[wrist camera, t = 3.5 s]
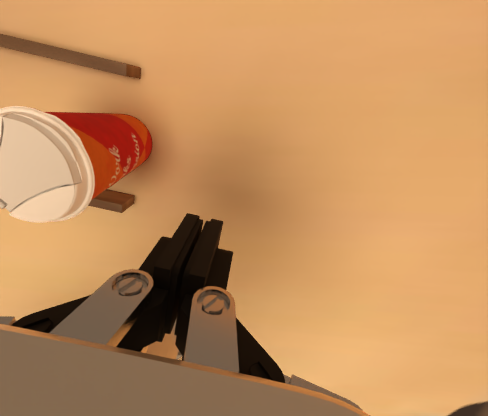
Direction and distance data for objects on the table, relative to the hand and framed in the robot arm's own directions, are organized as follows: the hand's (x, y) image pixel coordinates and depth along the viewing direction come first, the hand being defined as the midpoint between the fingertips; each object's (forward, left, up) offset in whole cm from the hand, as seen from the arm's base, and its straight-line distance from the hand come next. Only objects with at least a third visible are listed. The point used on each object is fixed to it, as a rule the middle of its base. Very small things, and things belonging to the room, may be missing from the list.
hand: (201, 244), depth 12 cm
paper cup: (-1, +12, -19) cm, 22 cm away
